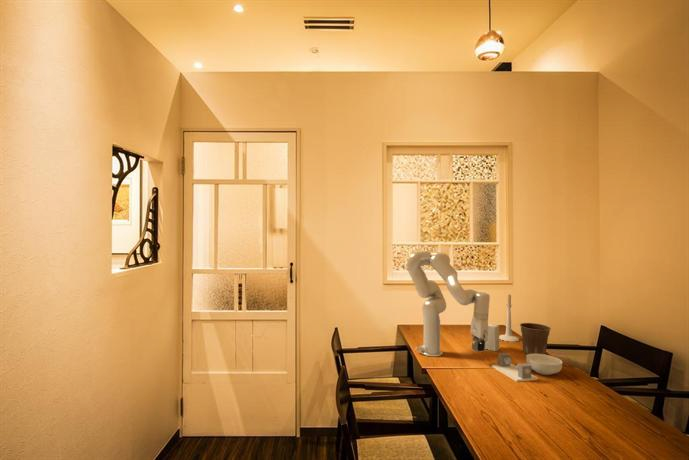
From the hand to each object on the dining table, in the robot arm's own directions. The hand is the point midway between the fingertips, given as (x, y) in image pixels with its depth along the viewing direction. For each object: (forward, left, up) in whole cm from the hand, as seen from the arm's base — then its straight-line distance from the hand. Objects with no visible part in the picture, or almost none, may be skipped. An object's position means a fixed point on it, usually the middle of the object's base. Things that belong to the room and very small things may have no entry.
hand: (478, 348), depth 209 cm
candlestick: (+46, +37, -9) cm, 59 cm away
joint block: (0, 0, -1) cm, 1 cm away
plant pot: (+43, +9, -9) cm, 45 cm away
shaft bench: (+11, -15, -8) cm, 20 cm away
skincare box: (+22, +21, -9) cm, 31 cm away
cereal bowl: (+27, -17, -9) cm, 33 cm away
